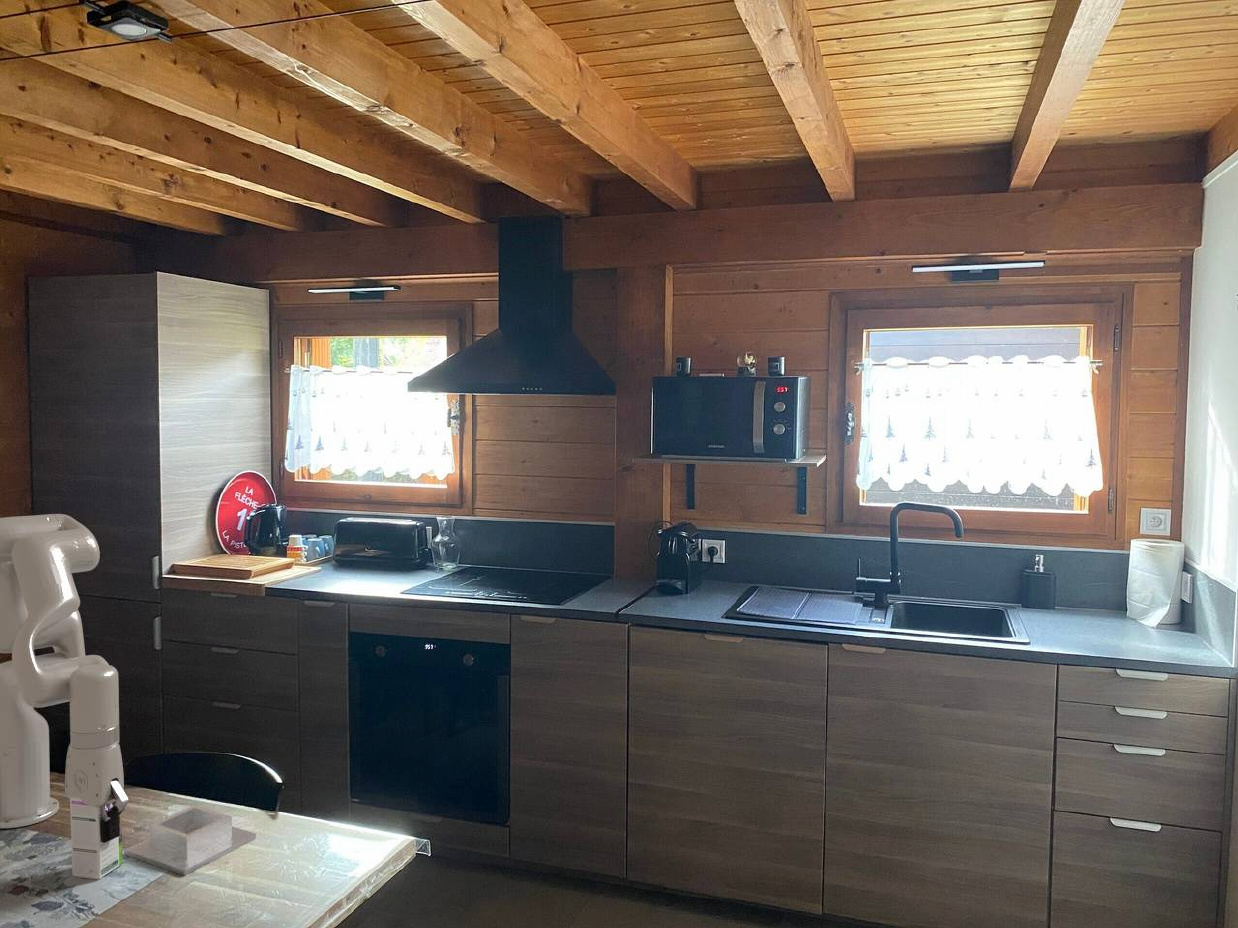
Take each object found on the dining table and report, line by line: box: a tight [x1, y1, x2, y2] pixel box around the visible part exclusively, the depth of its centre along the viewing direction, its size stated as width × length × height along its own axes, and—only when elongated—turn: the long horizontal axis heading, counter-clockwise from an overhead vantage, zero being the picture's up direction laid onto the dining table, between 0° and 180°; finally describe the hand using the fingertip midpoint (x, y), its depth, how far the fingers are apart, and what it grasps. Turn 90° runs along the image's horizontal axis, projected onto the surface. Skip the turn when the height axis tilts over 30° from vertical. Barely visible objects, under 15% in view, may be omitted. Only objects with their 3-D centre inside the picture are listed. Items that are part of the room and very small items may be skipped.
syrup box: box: [69, 796, 124, 881], centre depth 166 cm, size 6×6×14 cm
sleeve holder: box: [123, 804, 257, 877], centre depth 176 cm, size 16×16×5 cm
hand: (96, 833), depth 166 cm, fingers closed on syrup box, 6 cm apart
